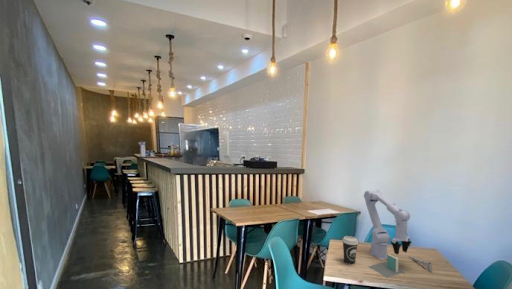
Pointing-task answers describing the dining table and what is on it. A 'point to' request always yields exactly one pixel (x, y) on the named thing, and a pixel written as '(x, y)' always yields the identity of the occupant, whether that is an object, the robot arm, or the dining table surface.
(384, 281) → the dining table surface
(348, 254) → the coffee cup
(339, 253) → the dining table surface
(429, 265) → the caliper
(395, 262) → the tile
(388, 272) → the mat
